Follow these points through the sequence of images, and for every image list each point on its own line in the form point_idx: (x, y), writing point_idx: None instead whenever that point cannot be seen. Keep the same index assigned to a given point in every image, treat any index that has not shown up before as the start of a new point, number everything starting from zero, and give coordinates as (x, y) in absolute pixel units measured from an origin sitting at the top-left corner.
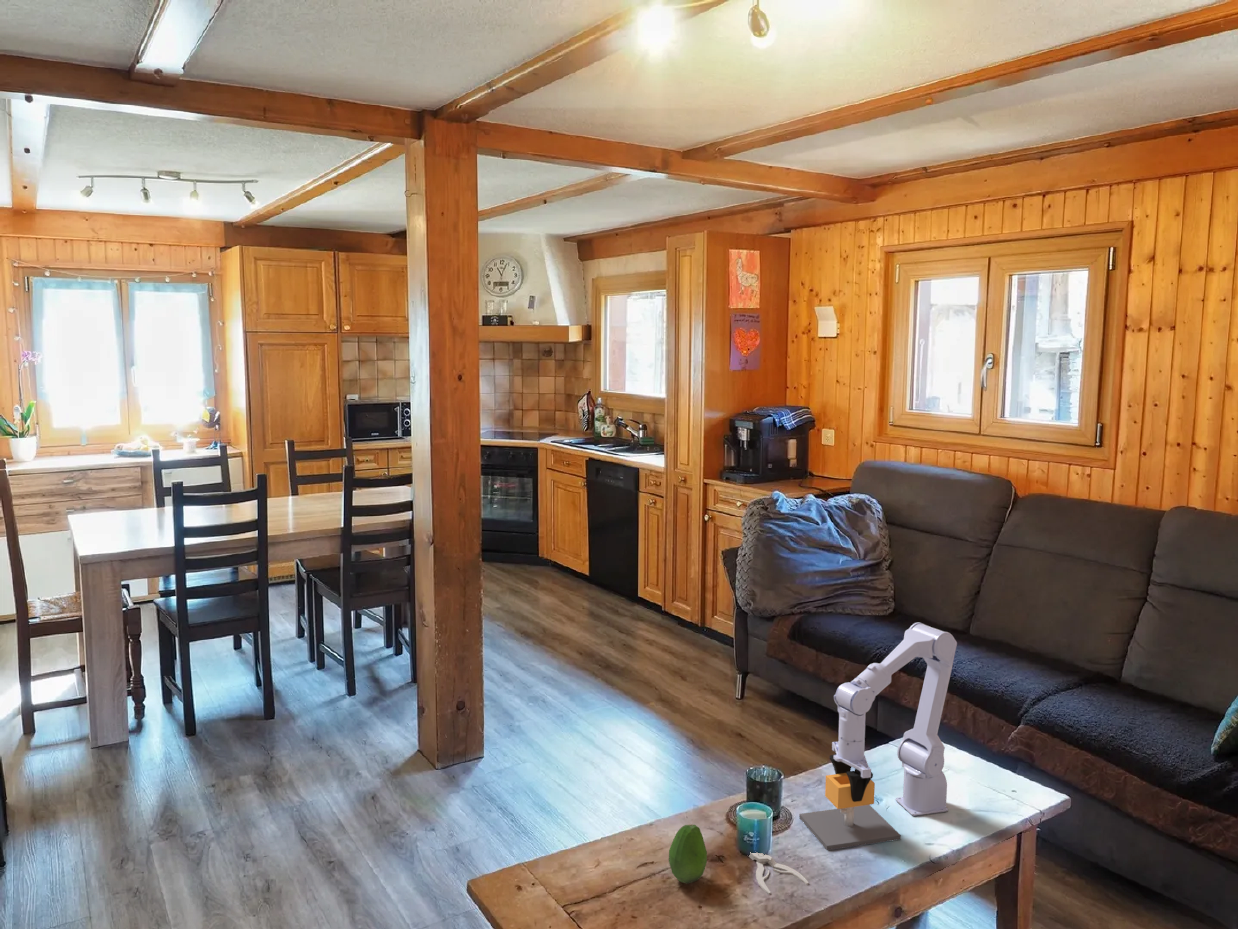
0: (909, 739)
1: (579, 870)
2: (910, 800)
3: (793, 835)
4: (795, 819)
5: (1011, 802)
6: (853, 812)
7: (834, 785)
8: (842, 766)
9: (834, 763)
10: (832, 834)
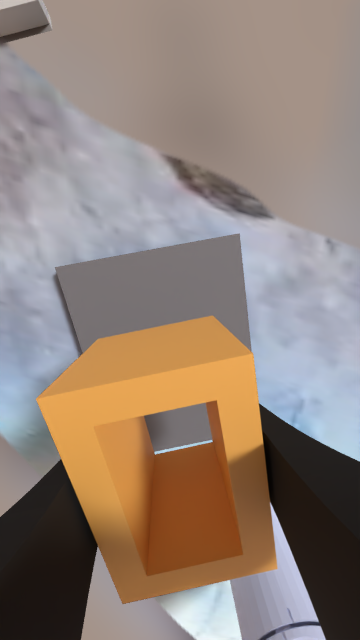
0: None
1: None
2: None
3: (142, 188)
4: (229, 221)
5: (238, 633)
6: None
7: (104, 379)
8: (307, 533)
9: (341, 522)
10: (119, 301)
